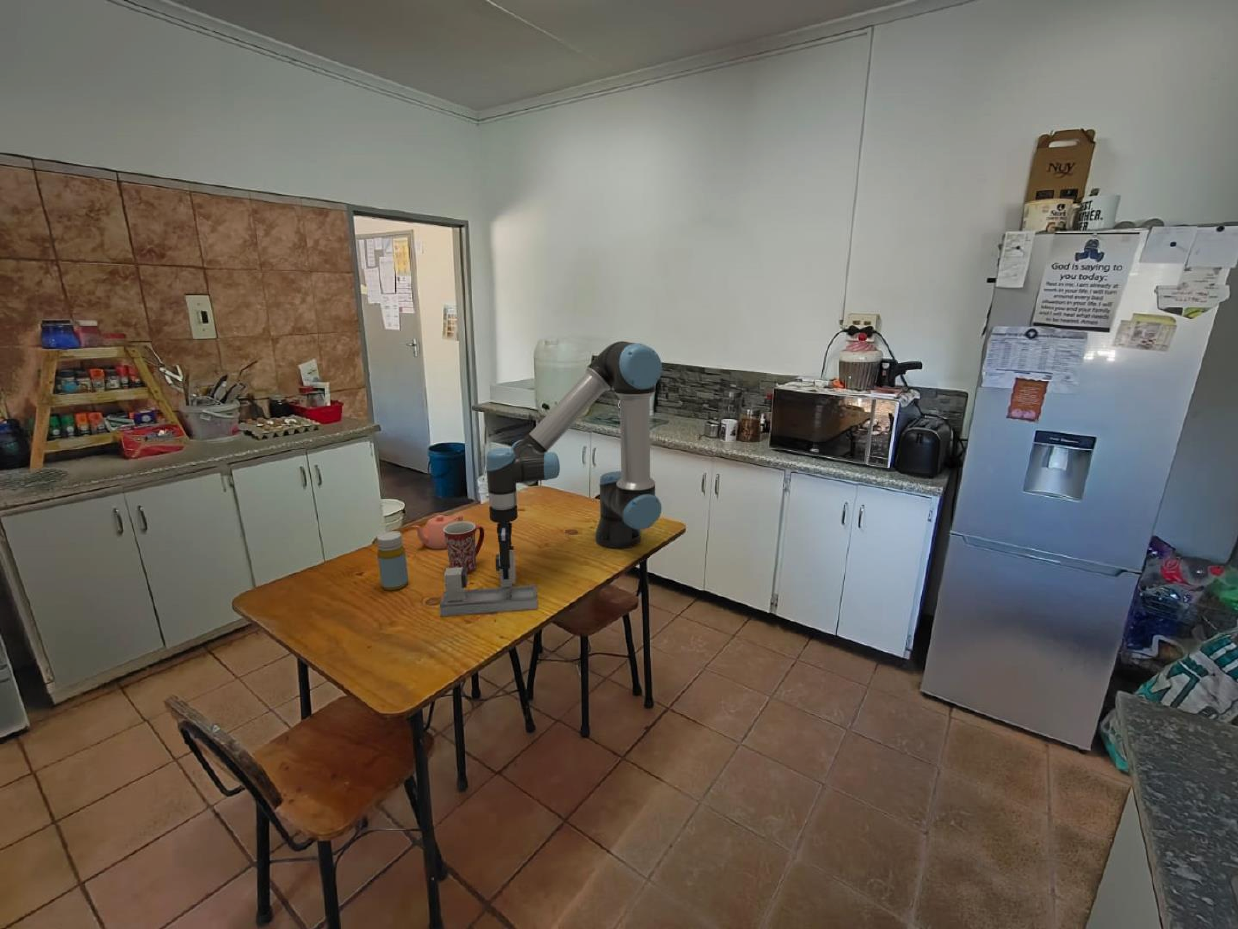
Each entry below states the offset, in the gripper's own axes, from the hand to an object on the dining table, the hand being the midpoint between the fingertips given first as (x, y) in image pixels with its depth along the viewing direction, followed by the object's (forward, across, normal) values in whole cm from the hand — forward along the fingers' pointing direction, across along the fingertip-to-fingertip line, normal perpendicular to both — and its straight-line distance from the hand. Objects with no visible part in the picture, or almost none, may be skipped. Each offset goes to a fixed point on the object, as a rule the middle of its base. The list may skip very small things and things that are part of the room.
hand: (507, 579), depth 158 cm
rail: (0, +13, -4) cm, 14 cm away
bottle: (+1, -2, -31) cm, 31 cm away
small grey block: (0, 0, 0) cm, 0 cm away
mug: (+1, -10, -12) cm, 15 cm away
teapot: (+1, -29, -23) cm, 37 cm away
